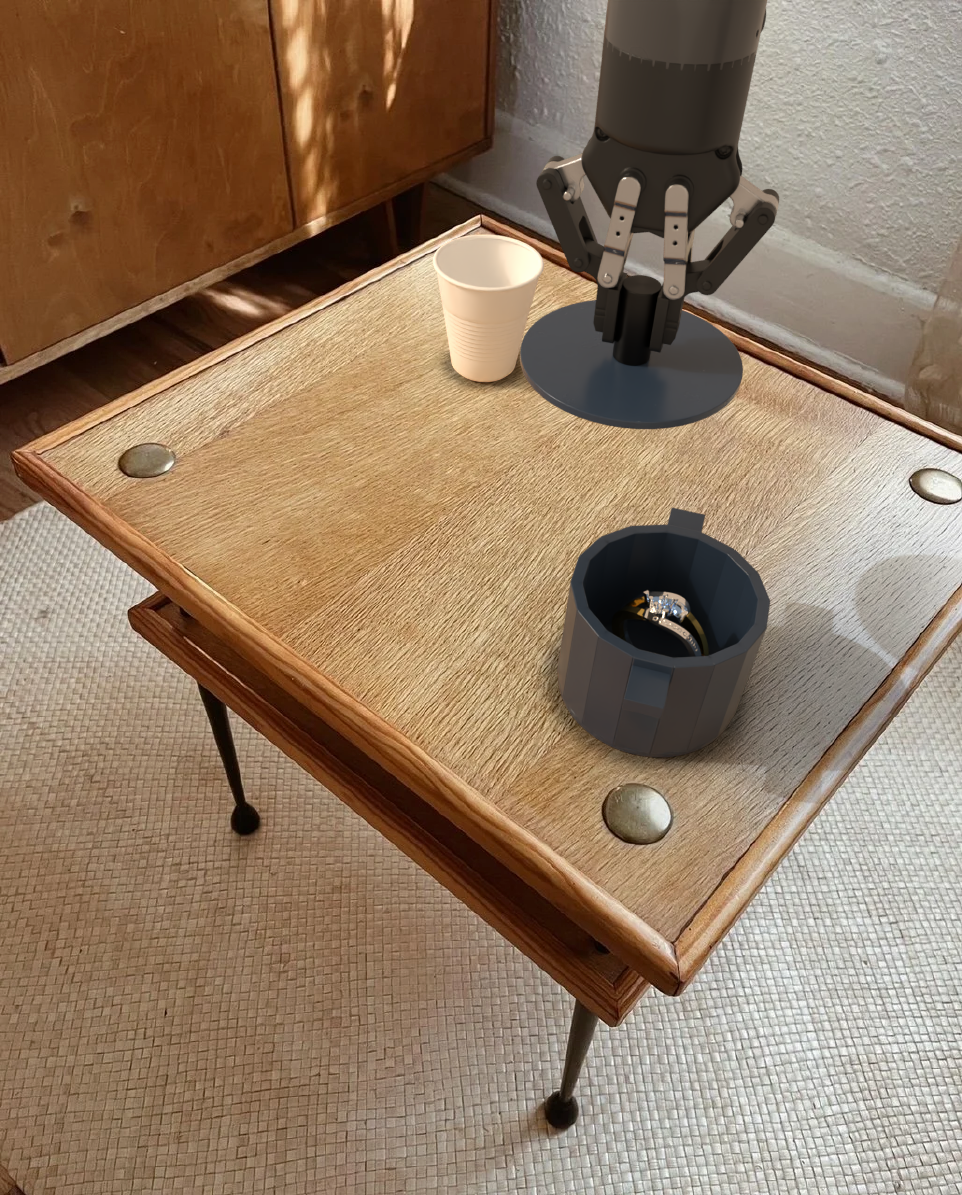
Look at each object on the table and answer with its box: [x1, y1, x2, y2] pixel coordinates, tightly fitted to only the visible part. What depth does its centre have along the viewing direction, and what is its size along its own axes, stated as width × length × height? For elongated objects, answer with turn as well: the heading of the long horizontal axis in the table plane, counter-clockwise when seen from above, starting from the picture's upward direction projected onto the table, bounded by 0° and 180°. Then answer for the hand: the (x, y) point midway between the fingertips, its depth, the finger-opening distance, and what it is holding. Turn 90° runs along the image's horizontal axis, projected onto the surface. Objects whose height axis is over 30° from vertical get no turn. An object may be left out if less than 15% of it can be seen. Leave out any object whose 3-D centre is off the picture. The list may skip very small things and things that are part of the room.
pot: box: [556, 507, 771, 758], centre depth 69 cm, size 13×18×10 cm
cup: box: [432, 234, 545, 383], centre depth 95 cm, size 10×10×11 cm
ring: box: [612, 591, 709, 657], centre depth 69 cm, size 7×3×8 cm, turn 44°
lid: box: [519, 274, 744, 430], centre depth 62 cm, size 14×14×6 cm
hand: (634, 339), depth 62 cm, fingers closed on lid, 2 cm apart
